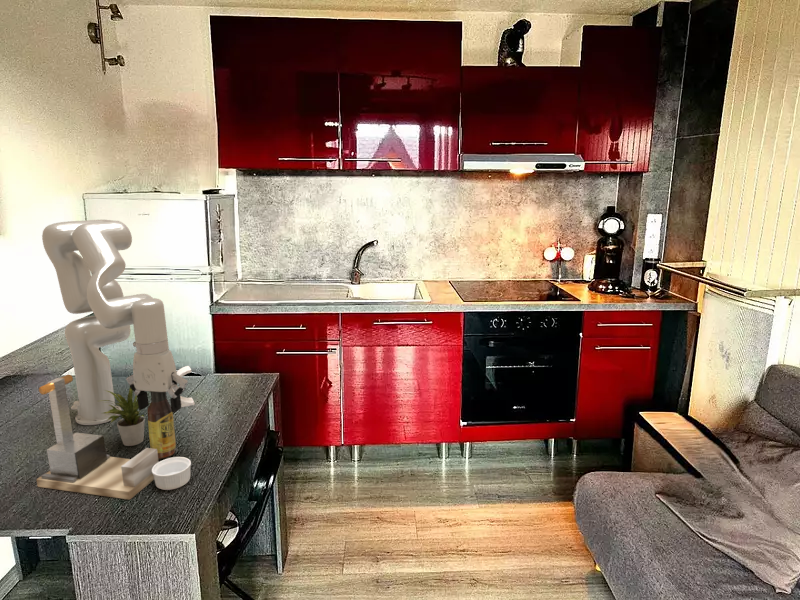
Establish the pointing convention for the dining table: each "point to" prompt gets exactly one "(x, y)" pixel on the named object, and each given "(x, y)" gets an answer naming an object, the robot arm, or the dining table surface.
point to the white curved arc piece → (184, 400)
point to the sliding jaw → (70, 437)
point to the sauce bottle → (161, 425)
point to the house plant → (128, 419)
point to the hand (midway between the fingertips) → (160, 409)
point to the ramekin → (171, 473)
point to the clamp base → (109, 477)
